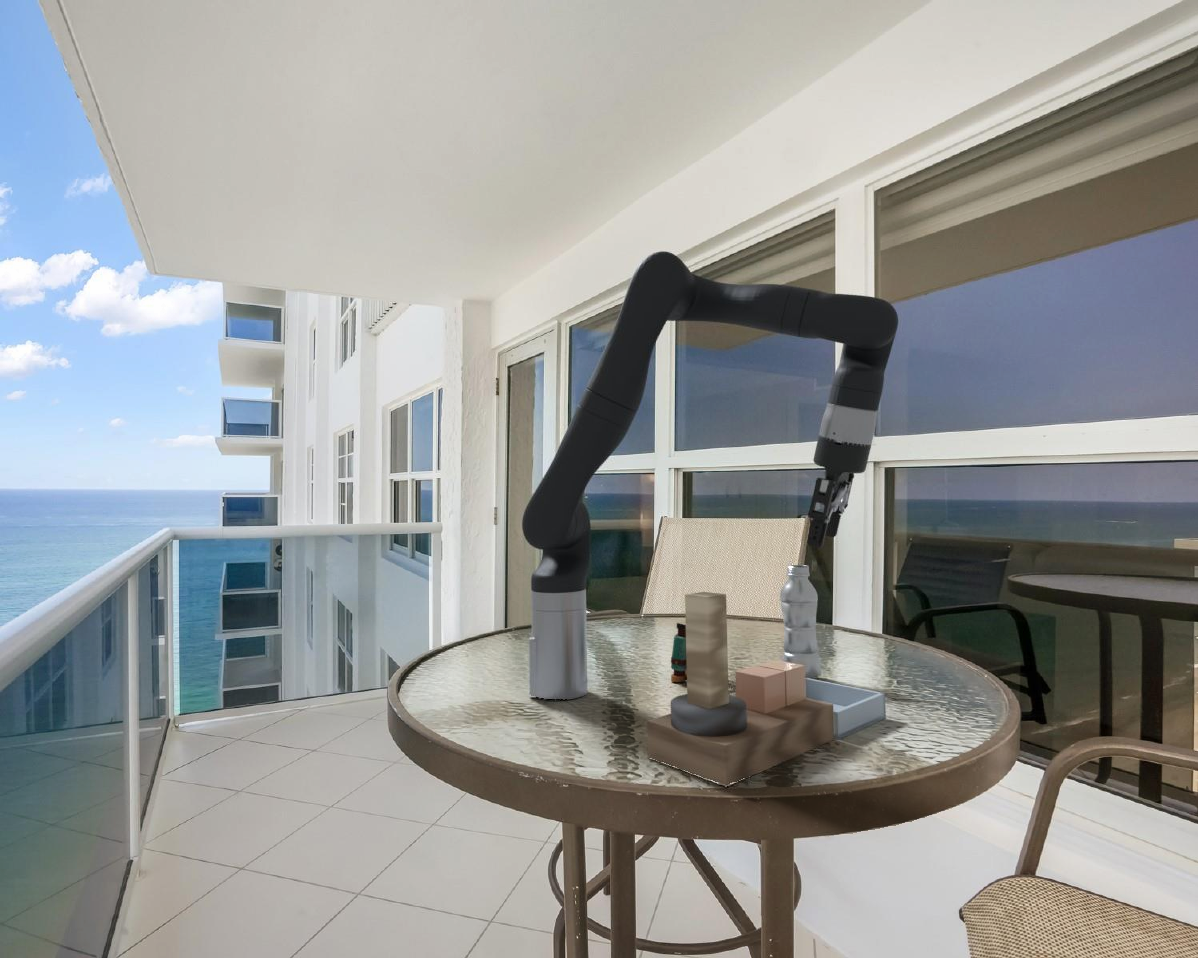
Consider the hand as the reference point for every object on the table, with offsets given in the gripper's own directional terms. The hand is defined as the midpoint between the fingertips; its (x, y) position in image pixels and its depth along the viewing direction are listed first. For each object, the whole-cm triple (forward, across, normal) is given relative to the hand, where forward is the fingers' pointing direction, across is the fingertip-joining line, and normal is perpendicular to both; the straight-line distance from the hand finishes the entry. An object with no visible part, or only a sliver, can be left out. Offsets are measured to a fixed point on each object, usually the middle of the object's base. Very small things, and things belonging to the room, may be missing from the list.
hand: (821, 540), depth 102 cm
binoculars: (+31, -2, -15) cm, 35 cm away
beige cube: (+18, +17, +3) cm, 25 cm away
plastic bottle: (+28, -12, 0) cm, 31 cm away
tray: (+23, +9, +7) cm, 26 cm away
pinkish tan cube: (+18, +22, +2) cm, 29 cm away
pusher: (+18, +32, -2) cm, 36 cm away
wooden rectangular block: (+22, +26, +2) cm, 34 cm away
